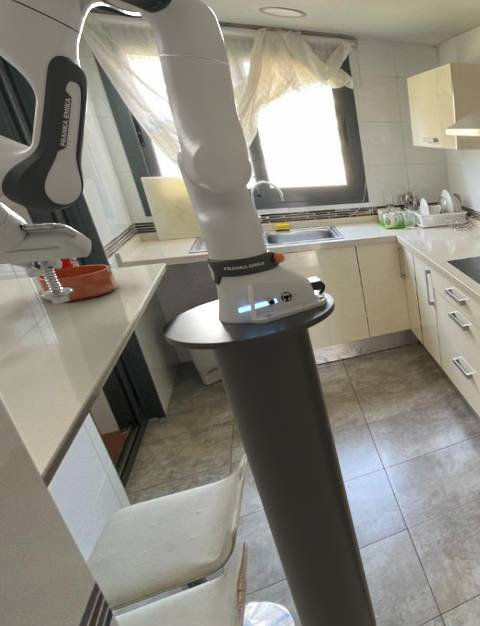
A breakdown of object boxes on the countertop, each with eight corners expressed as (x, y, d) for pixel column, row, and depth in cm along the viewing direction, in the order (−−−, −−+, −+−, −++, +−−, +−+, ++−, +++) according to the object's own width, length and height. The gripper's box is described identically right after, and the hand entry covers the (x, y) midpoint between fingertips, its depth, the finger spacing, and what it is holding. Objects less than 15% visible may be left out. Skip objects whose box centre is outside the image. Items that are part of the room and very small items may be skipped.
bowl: (116, 282, 127) (108, 261, 124) (119, 293, 118) (110, 271, 116) (48, 294, 118) (38, 271, 116) (45, 307, 109) (34, 283, 107)
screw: (72, 303, 94) (40, 307, 92) (81, 296, 98) (50, 300, 96) (44, 241, 89) (9, 244, 87) (54, 236, 93) (22, 239, 91)
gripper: (64, 209, 85) (112, 248, 97) (-86, 217, 79) (-15, 258, 91) (60, 237, 83) (109, 274, 95) (-95, 249, 77) (-21, 286, 89)
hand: (47, 266), depth 93 cm, fingers closed on screw, 2 cm apart
